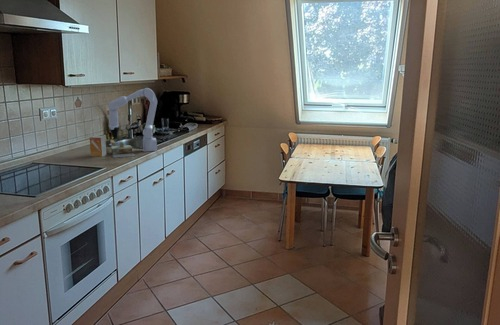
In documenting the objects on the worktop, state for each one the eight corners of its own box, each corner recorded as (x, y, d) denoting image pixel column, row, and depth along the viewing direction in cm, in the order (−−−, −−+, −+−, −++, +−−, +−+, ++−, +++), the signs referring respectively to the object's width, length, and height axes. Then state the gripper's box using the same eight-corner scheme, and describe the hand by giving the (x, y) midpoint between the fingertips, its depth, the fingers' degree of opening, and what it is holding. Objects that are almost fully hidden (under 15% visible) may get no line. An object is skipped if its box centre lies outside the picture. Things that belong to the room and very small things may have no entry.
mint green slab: (130, 146, 290) (130, 141, 289) (132, 148, 283) (131, 142, 282) (111, 147, 285) (110, 142, 284) (112, 149, 278) (112, 144, 277)
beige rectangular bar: (113, 142, 299) (113, 139, 299) (115, 144, 288) (115, 142, 288) (110, 142, 298) (110, 140, 298) (112, 145, 288) (112, 142, 287)
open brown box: (130, 150, 292) (130, 144, 291) (132, 153, 282) (132, 147, 281) (111, 152, 287) (111, 145, 286) (113, 155, 277) (112, 148, 276)
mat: (133, 153, 282) (133, 153, 282) (135, 156, 274) (135, 155, 274) (112, 155, 277) (112, 154, 277) (113, 158, 269) (113, 157, 269)
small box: (90, 156, 273) (89, 137, 270) (95, 154, 280) (93, 135, 277) (102, 156, 272) (100, 137, 270) (106, 154, 279) (105, 135, 276)
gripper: (110, 117, 288) (112, 136, 291) (105, 120, 274) (106, 140, 277) (120, 117, 289) (122, 136, 292) (115, 120, 275) (117, 140, 278)
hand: (115, 138), depth 285 cm, fingers closed
